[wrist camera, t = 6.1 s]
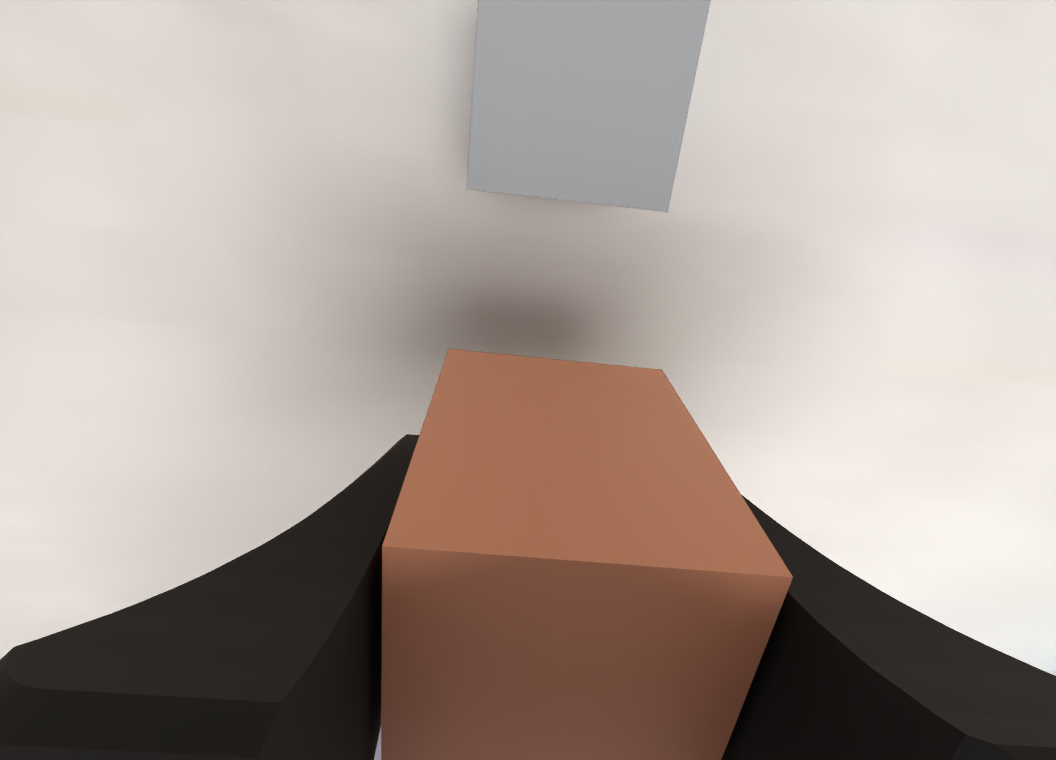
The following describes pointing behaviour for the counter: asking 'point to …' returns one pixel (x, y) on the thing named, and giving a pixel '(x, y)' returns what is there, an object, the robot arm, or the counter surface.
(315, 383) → the counter surface
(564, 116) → the slate block
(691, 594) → the terracotta block
